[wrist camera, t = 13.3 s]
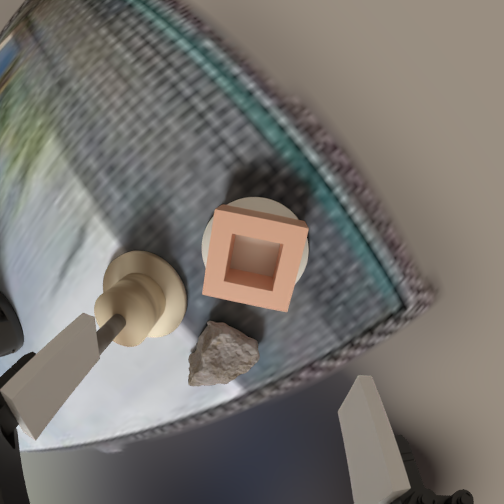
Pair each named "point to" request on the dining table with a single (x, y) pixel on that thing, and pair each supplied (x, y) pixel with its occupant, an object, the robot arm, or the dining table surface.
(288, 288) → the link
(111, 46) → the dining table surface
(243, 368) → the stone
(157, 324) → the stand
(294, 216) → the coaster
